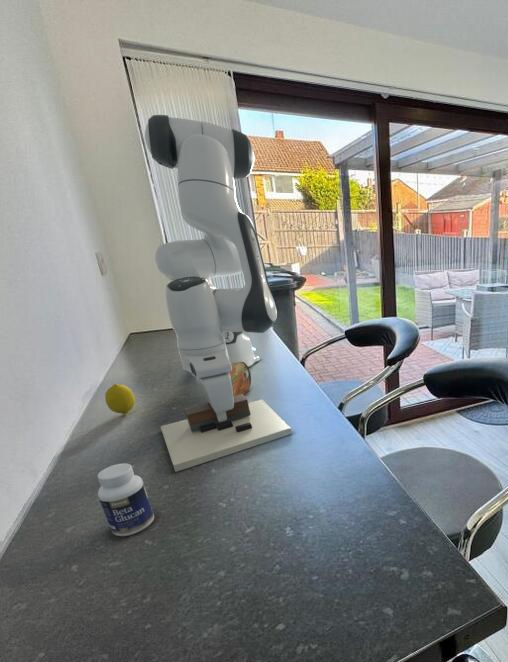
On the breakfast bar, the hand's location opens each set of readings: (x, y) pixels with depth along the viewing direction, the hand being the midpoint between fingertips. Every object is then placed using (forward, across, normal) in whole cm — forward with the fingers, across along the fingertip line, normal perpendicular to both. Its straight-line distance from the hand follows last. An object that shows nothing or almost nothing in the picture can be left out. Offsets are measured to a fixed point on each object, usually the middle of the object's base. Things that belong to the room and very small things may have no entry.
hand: (219, 416), depth 89 cm
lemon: (+3, -24, -17) cm, 29 cm away
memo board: (+3, +4, 0) cm, 4 cm away
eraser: (+1, 0, 0) cm, 1 cm away
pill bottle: (+3, +26, -18) cm, 31 cm away
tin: (+3, -16, +7) cm, 18 cm away
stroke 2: (+1, +4, 0) cm, 4 cm away
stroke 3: (+1, +8, +3) cm, 8 cm away
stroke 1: (+1, +2, -3) cm, 4 cm away
